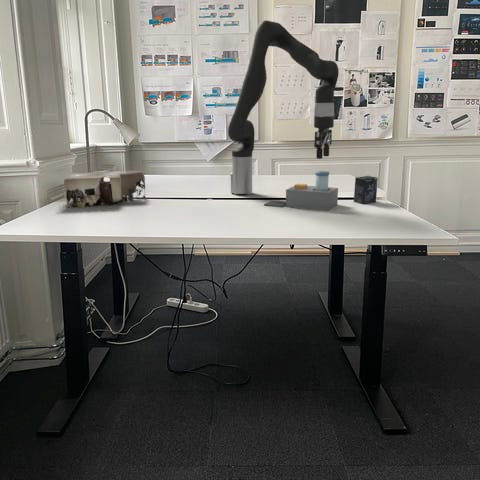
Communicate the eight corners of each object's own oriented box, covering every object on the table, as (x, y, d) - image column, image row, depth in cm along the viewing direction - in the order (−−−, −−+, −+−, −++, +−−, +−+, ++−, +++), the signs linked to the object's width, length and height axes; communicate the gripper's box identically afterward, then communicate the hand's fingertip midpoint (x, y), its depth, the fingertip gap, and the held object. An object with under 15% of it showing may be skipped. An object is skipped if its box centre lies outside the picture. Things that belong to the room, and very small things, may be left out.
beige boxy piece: (145, 206, 204) (143, 175, 200) (66, 209, 199) (63, 178, 195) (146, 198, 221) (144, 169, 217) (73, 201, 216) (70, 171, 212)
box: (363, 204, 201) (365, 178, 198) (353, 202, 206) (354, 177, 203) (376, 202, 206) (378, 177, 203) (366, 199, 210) (367, 175, 207)
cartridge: (312, 202, 197) (313, 172, 193) (317, 199, 201) (318, 170, 198) (325, 203, 194) (326, 173, 191) (329, 200, 199) (330, 171, 196)
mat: (263, 205, 201) (263, 204, 201) (271, 202, 208) (271, 200, 208) (281, 207, 198) (281, 205, 197) (289, 203, 204) (289, 202, 204)
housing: (285, 206, 199) (286, 189, 197) (296, 201, 209) (296, 185, 207) (328, 210, 191) (329, 192, 189) (337, 204, 201) (338, 187, 199)
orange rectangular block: (294, 197, 200) (294, 185, 199) (297, 195, 204) (297, 183, 203) (303, 197, 199) (303, 185, 197) (306, 196, 202) (306, 184, 201)
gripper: (320, 114, 196) (319, 155, 201) (308, 115, 184) (307, 159, 188) (338, 114, 193) (337, 156, 197) (327, 115, 181) (326, 159, 185)
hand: (322, 157), depth 193 cm, fingers open, 8 cm apart
